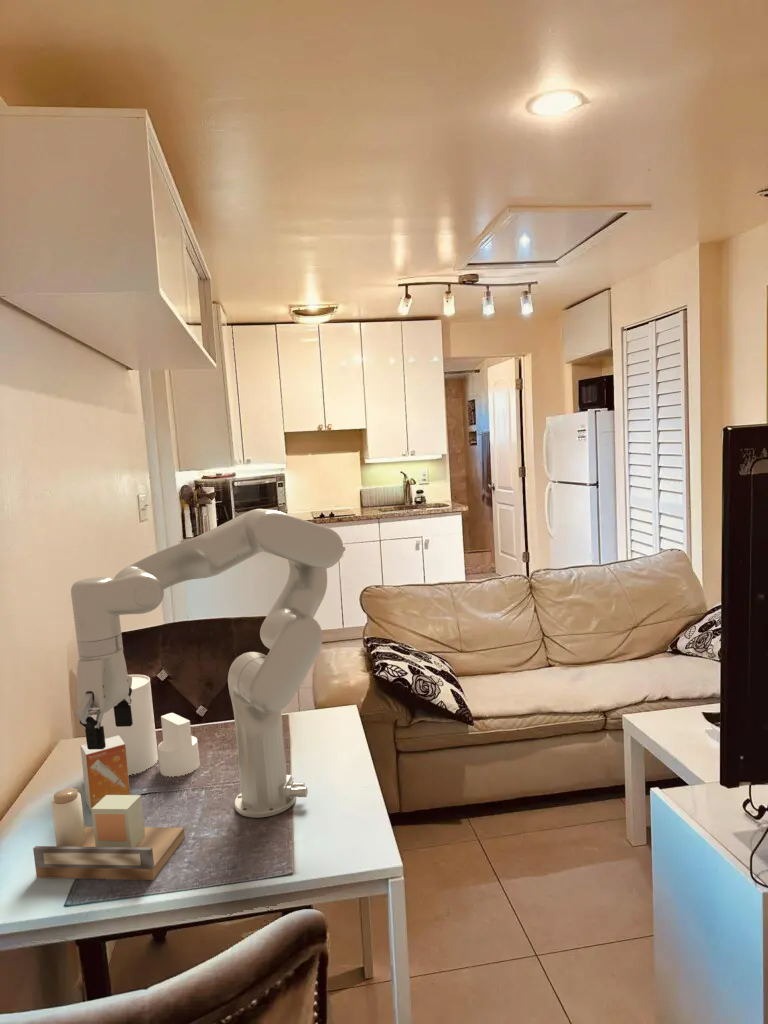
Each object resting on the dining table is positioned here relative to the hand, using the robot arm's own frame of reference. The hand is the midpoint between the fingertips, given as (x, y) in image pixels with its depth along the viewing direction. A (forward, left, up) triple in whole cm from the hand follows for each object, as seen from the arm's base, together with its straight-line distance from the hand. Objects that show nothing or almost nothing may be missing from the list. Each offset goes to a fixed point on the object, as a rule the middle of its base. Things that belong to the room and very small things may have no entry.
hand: (111, 736), depth 126 cm
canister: (+18, -36, -23) cm, 46 cm away
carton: (0, 0, -20) cm, 20 cm away
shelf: (+1, +2, -22) cm, 22 cm away
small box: (+13, -18, -23) cm, 32 cm away
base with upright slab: (+4, -34, -23) cm, 41 cm away
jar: (+10, +1, -20) cm, 22 cm away
